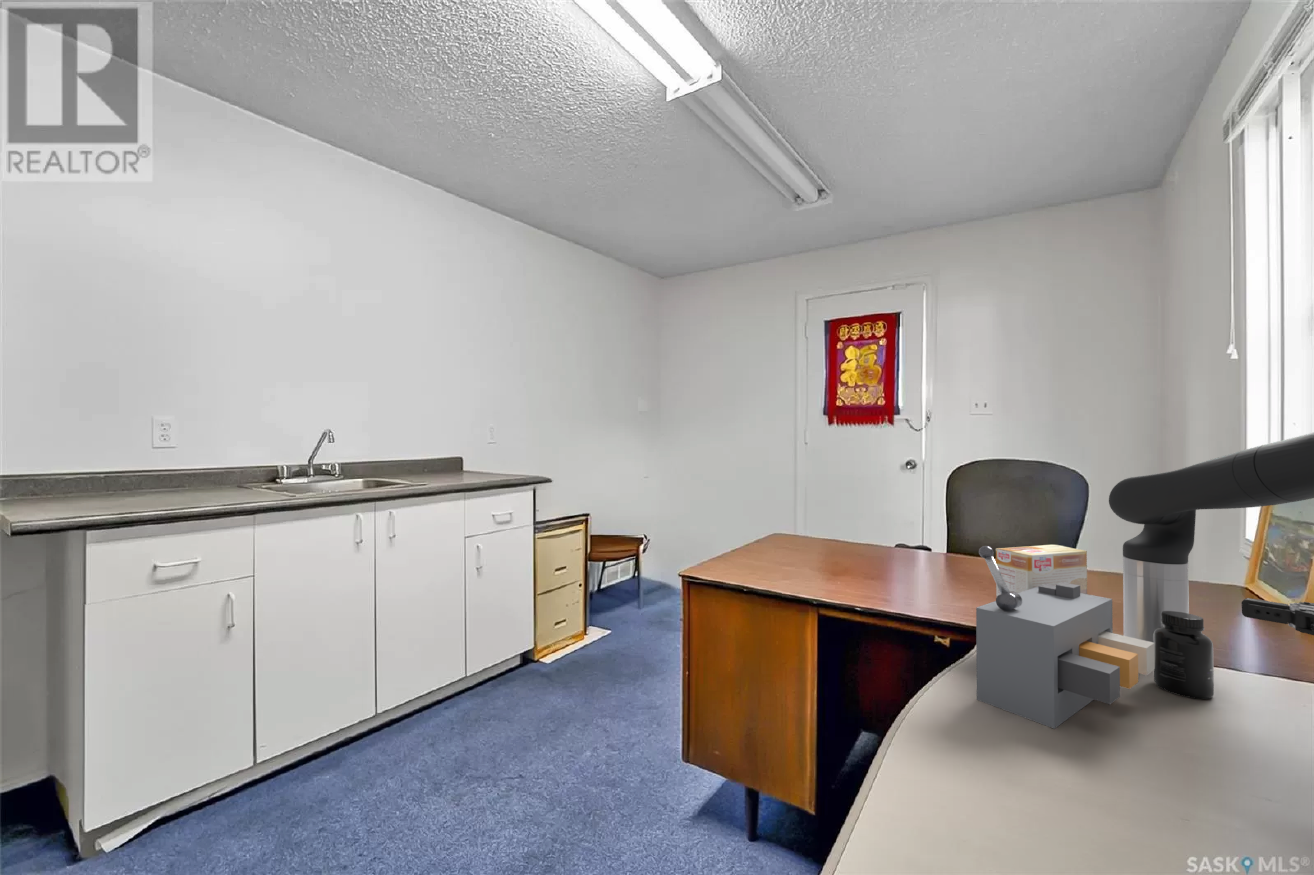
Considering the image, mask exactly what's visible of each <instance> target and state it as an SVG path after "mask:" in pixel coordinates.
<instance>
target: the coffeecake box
mask: <svg viewBox="0 0 1314 875" xmlns="http://www.w3.org/2000/svg"><path fill="white" fill-rule="evenodd" d="M1087 553H1088V551H1087V550H1085V549H1080V548H1073V547H1069V546H1065V545H1059V544H1043V545H1031V546H1029V545H1028V546H1016V547H1015V546H1013V547H998V548H995V562H996V564H997V566H998V568H999V571H1000V573H1001V575H1002V577H1003V579H1004V581H1005V583H1006V585H1007V587H1008V590H1009V592H1010V591H1013V592H1016V593H1020V592H1023V591H1026V590H1029V589H1032V588H1035V587H1038V586H1041V585H1044V584H1049V585H1055V586H1056V585H1057V584H1059V583H1062V582H1064V583H1070V584H1075V585H1080V593H1083V594H1088V561H1087V560H1088V558H1087V556H1088V554H1087ZM995 584H996V583H995ZM995 589H996V590H995V591H996V592H995V596H996V598H997V596H998V595H1000V594H1001V593H1000V591H999V589H998V587H997V584H996V587H995ZM996 598H995V599H996Z"/></svg>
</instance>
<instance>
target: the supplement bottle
mask: <svg viewBox="0 0 1314 875" xmlns="http://www.w3.org/2000/svg"><path fill="white" fill-rule="evenodd" d="M1161 617H1162V619H1161V623H1162V624H1163V627H1159V628H1157V629H1156V630H1155V631H1154V634H1153V643H1154V648H1155V669H1154V670H1153V681H1154V683H1155V684H1156V686H1157V687H1159V688H1160V689H1161V690H1162V689H1163V690H1164V691H1166V692H1168V693H1172V694H1175V695H1178V696H1181V697H1187V698H1191V699H1198V700H1199V699H1201V700H1208V699H1211V698H1212V697H1214V693H1215V681H1214V680H1215V675H1214V674H1215V672H1214V671H1215V670H1214V668H1215V666H1214V644H1213V641H1212V640H1211V638H1210V637H1208V636H1207V635H1206V634H1204V633H1203V632H1204V631H1205V626H1204V618H1203V617H1202V616H1199V615H1196V614H1192V613H1189V614H1188V613H1183V612H1176V611H1163V612H1162V613H1161Z"/></svg>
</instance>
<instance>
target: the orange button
mask: <svg viewBox="0 0 1314 875" xmlns="http://www.w3.org/2000/svg"><path fill="white" fill-rule="evenodd" d="M1079 656H1082V657H1086V658H1089V659H1093V660H1097V661H1100V662H1104V663H1108V664H1111V665H1115V666H1119V667H1120V688H1125V689H1128V690H1130V689H1132V688H1133V687H1134V686H1135V685H1137V684H1138V683H1139V673H1138V654H1136V653H1132V652H1128V651H1124V650H1120V649H1116V648H1112V647H1108V646H1104V645H1100V644H1096V643H1092V642H1088V641H1084V642H1083V643H1081V644H1079Z"/></svg>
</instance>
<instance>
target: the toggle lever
mask: <svg viewBox="0 0 1314 875" xmlns="http://www.w3.org/2000/svg"><path fill="white" fill-rule="evenodd" d="M978 555H979V556H980V557H981V558H983V559H984V560H985V563H986V564H987V567H988V569H989V572H990V574H991V575H992V576H991V577H993V580H994V582H995V584H997V587H998V589H999V591H1000V593H1001V594H1000V595H998V596H997V598H995V601H996V604H997V606H998V607H999V608H1000V609H1002V610H1005V611H1009V610H1012V609H1014V608H1017V607H1019V606H1021V604H1022V598H1021V596H1020V595H1019V594H1018V593H1016V592H1013V591H1010V592H1009V590H1008V587H1007V585H1006V583H1005V581H1004V579H1003V577H1002V575H1001V573H1000V571H999V568H998V566H997V564H996V559H995V558H994V555H995V552H994V550H993V548H992V547H991V546H989V545H982V546H981V547H980V548H978Z"/></svg>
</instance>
